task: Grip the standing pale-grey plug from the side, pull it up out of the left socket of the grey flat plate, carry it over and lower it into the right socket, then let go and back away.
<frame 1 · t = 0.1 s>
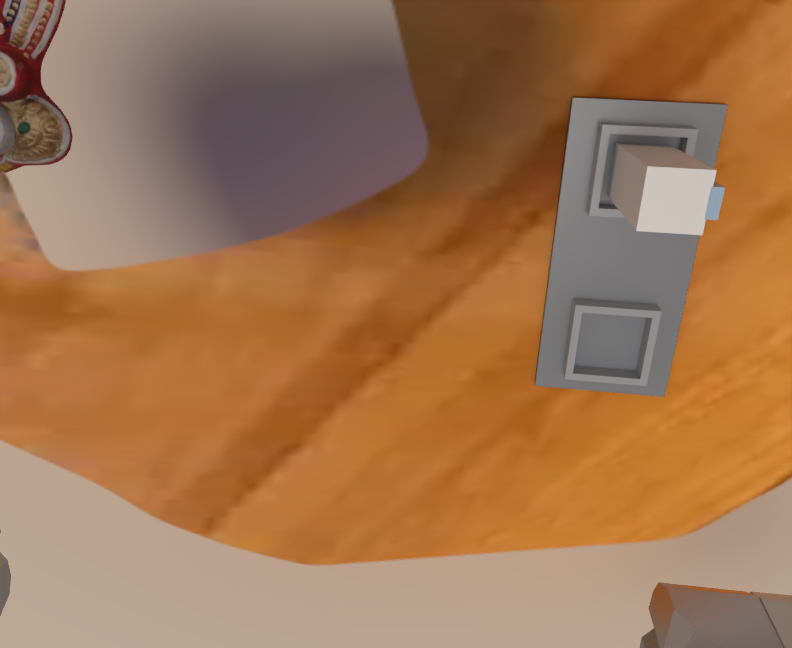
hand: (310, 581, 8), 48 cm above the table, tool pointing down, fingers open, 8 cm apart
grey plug: (637, 170, 51), point 1 cm above the table, touching grey flat plate
grey flat plate: (620, 256, 54), on the table
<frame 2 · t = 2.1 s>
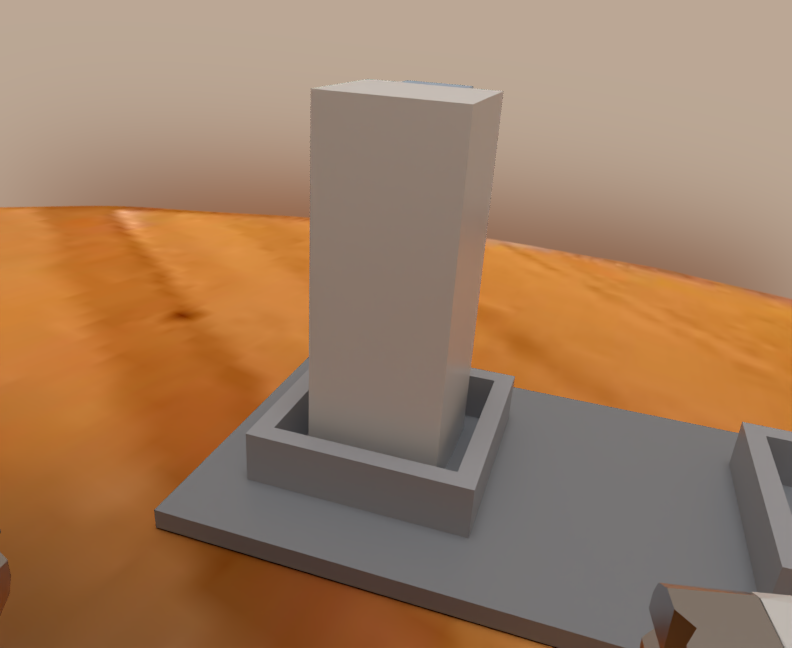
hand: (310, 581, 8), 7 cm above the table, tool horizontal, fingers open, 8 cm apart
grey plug: (390, 444, 22), point 1 cm above the table, touching grey flat plate
grey flat plate: (607, 513, 20), on the table
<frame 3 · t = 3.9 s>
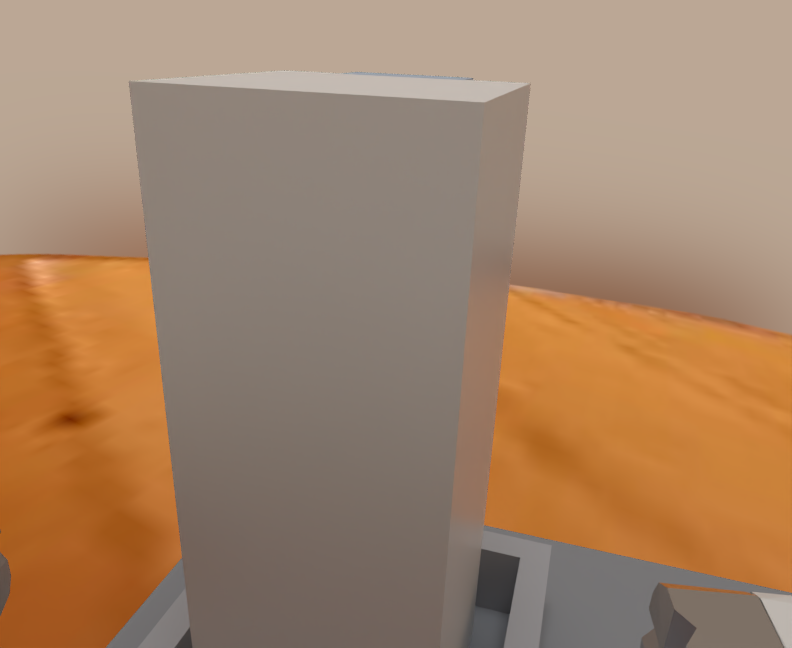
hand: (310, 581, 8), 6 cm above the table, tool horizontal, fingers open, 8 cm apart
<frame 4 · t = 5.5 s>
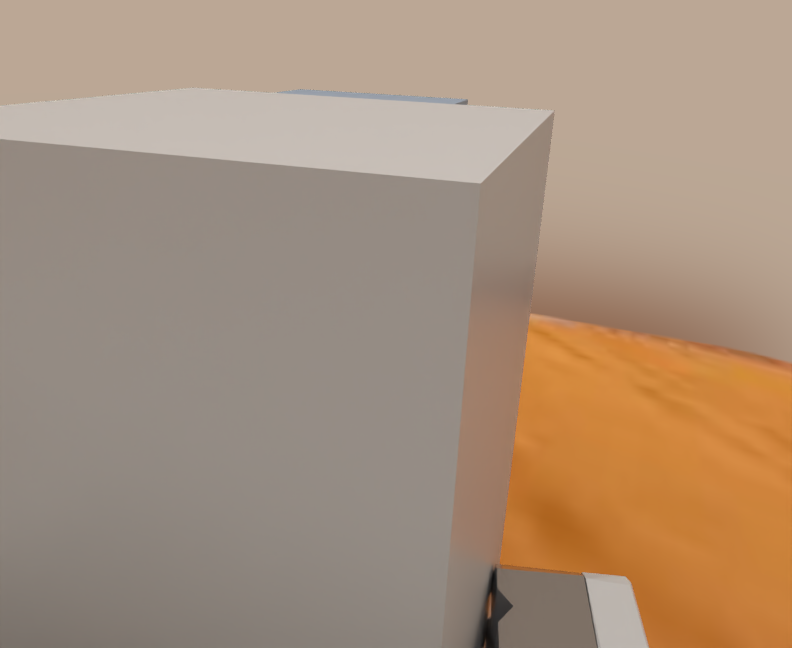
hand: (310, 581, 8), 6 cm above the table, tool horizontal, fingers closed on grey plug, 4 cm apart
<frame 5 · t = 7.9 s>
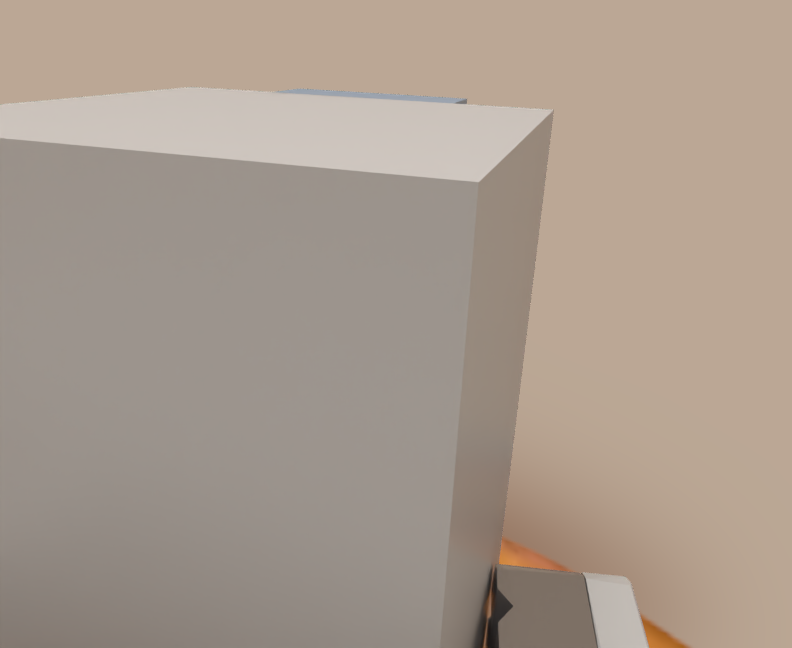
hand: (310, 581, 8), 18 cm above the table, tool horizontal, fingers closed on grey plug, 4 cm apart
when the fingers open (7 cm above the table, at t = 10.8 s): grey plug stays where it is, resting on grey flat plate.
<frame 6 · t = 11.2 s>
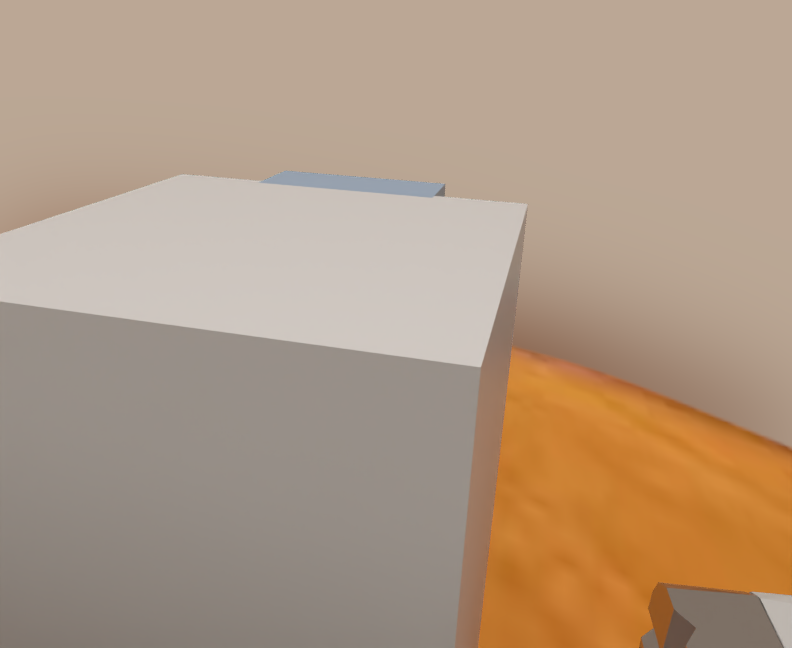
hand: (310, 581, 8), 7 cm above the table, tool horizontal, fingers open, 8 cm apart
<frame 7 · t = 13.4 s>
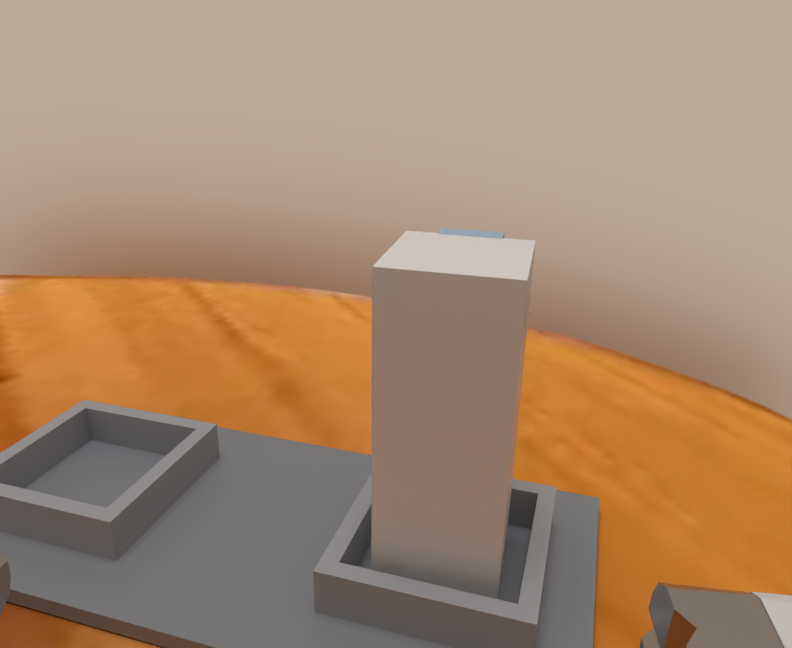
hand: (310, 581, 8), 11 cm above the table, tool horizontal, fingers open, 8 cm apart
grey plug: (443, 562, 23), point 1 cm above the table, touching grey flat plate
grey flat plate: (260, 535, 25), on the table
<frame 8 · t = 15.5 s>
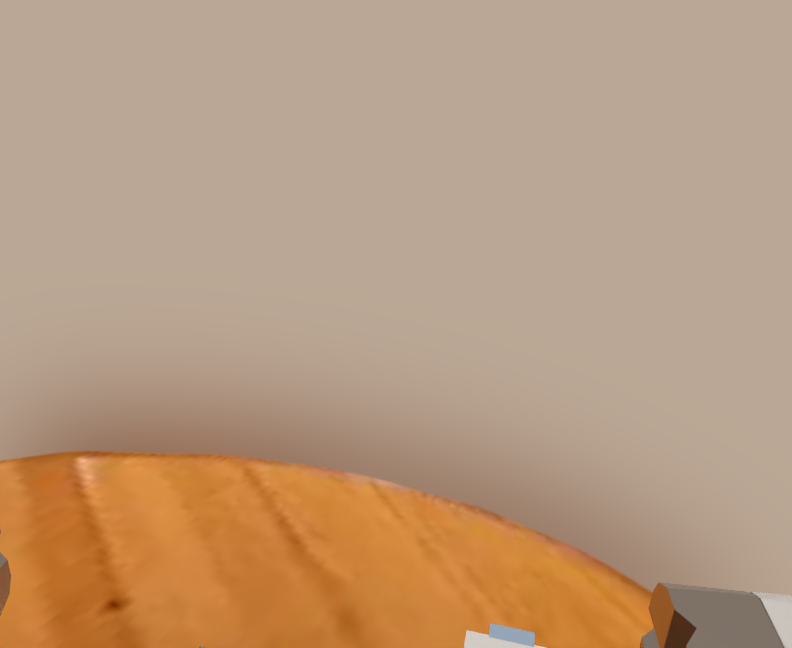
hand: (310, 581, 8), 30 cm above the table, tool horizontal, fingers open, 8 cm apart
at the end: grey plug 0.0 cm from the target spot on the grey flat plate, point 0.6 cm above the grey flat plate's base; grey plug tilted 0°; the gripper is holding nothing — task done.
